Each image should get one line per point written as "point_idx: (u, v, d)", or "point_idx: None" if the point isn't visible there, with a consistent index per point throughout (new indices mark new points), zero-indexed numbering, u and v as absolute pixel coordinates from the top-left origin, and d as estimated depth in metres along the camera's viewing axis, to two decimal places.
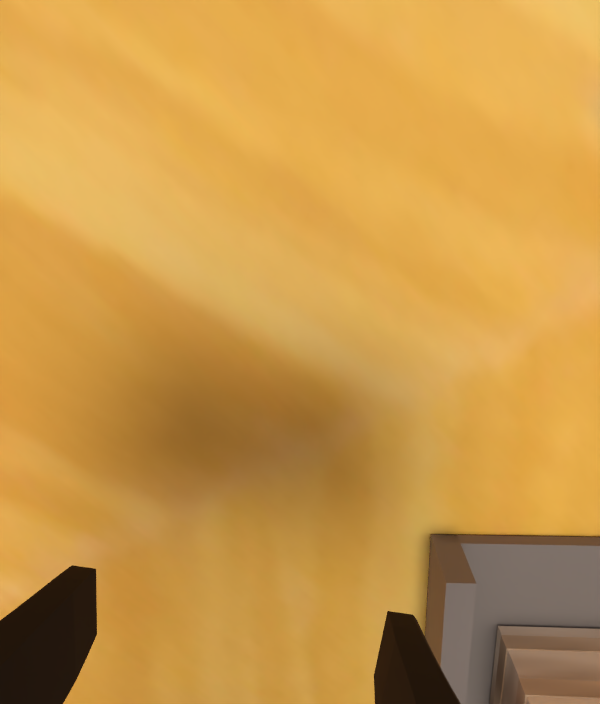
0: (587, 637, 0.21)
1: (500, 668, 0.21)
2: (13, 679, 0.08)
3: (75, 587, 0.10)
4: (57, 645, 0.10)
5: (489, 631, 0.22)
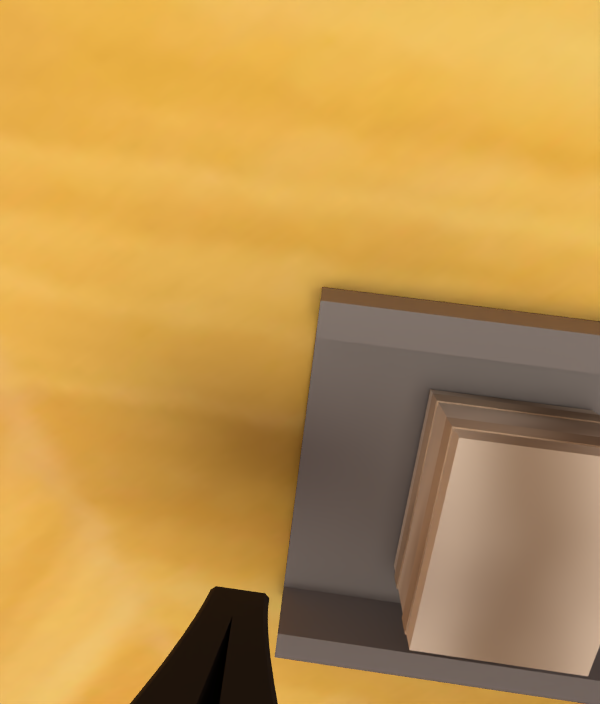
0: (411, 493, 0.18)
1: None
2: None
3: (232, 610, 0.10)
4: (221, 670, 0.10)
5: None
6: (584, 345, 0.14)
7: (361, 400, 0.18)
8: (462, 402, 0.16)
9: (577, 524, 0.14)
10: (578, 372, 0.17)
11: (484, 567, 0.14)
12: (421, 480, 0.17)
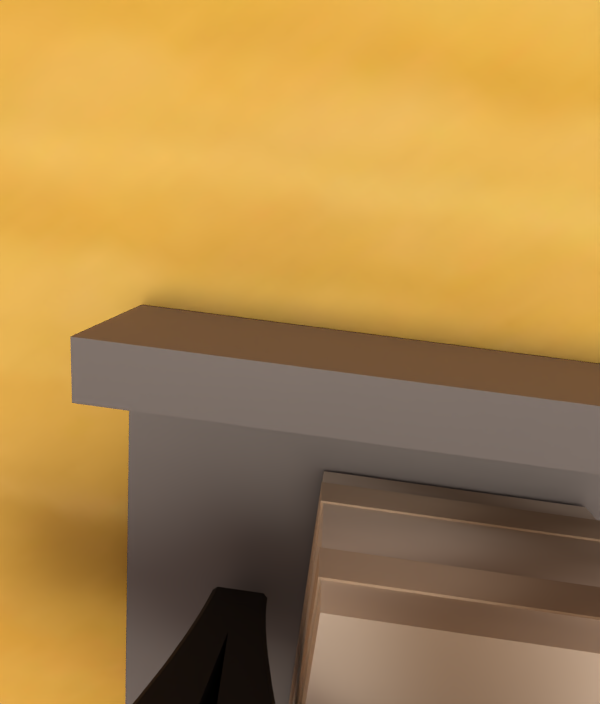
0: (300, 631, 0.11)
1: None
2: None
3: (233, 610, 0.10)
4: None
5: None
6: (559, 422, 0.08)
7: (211, 484, 0.11)
8: (366, 503, 0.10)
9: None
10: None
11: None
12: (304, 624, 0.10)
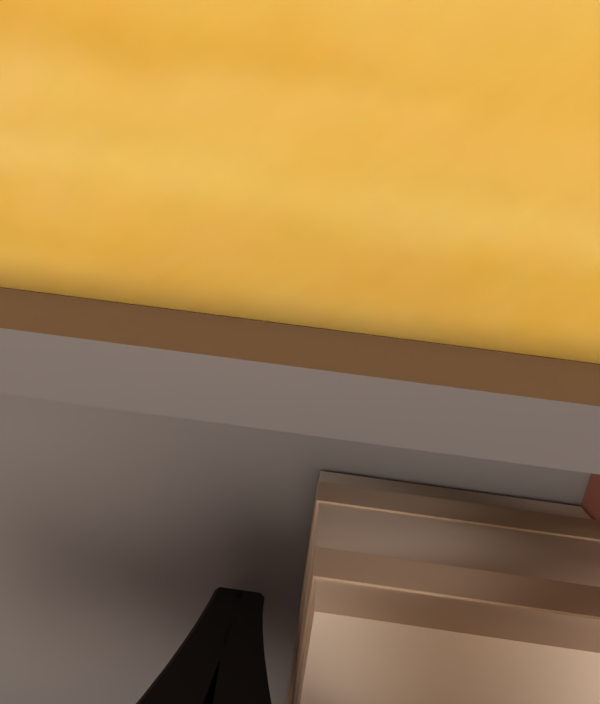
0: (297, 630, 0.11)
1: None
2: None
3: (236, 611, 0.10)
4: None
5: (27, 685, 0.13)
6: (90, 360, 0.08)
7: None
8: (362, 502, 0.10)
9: None
10: None
11: None
12: (300, 623, 0.10)
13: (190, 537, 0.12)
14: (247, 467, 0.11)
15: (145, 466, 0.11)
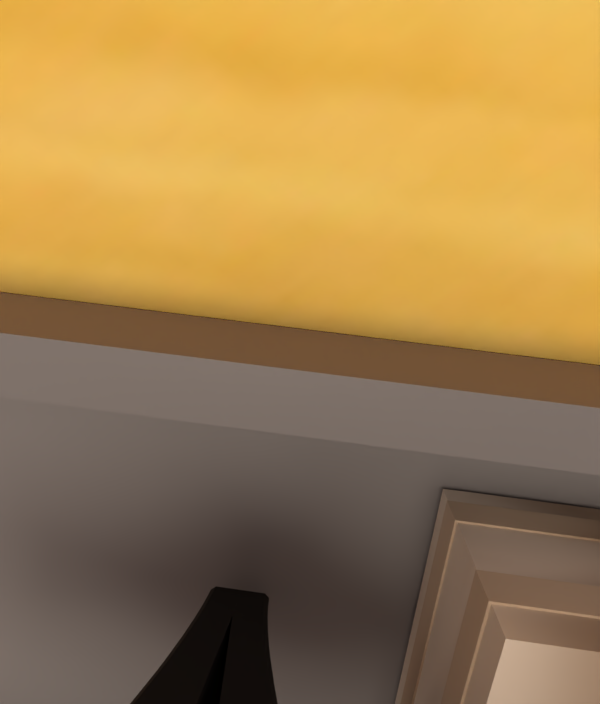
0: (413, 647, 0.11)
1: None
2: None
3: (232, 610, 0.10)
4: (221, 670, 0.10)
5: (127, 702, 0.13)
6: (256, 385, 0.08)
7: (12, 460, 0.11)
8: (499, 522, 0.10)
9: None
10: None
11: None
12: (429, 642, 0.10)
13: (304, 554, 0.12)
14: (367, 485, 0.11)
15: (263, 484, 0.11)
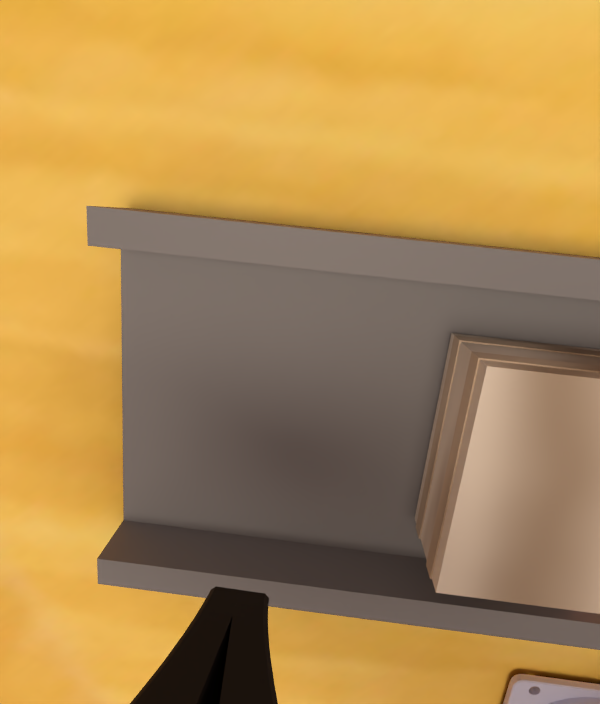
0: (433, 441, 0.18)
1: None
2: None
3: (232, 610, 0.10)
4: (221, 670, 0.10)
5: (237, 501, 0.20)
6: (348, 245, 0.14)
7: (173, 323, 0.18)
8: (486, 342, 0.16)
9: None
10: (380, 287, 0.17)
11: (512, 503, 0.14)
12: (444, 424, 0.16)
13: (361, 384, 0.18)
14: (403, 333, 0.17)
15: (336, 335, 0.17)
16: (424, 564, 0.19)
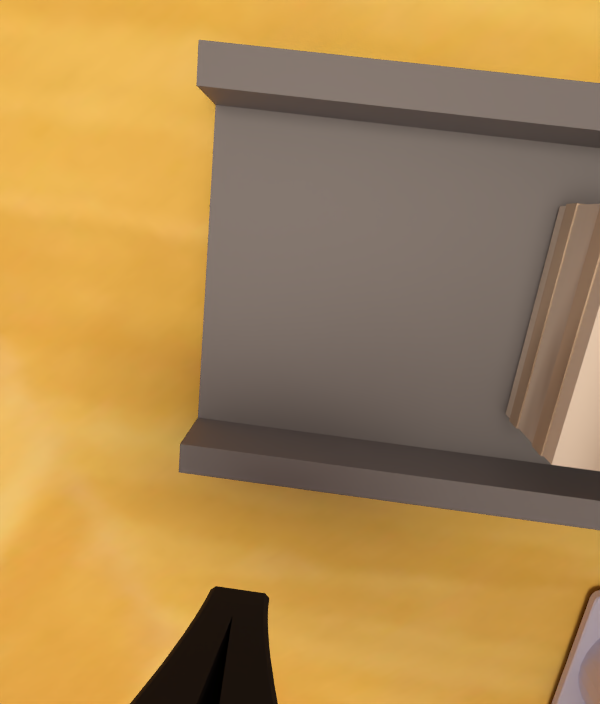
0: (534, 324, 0.17)
1: None
2: None
3: (232, 610, 0.10)
4: (221, 670, 0.10)
5: (319, 396, 0.19)
6: (476, 84, 0.13)
7: (265, 196, 0.17)
8: None
9: None
10: (487, 155, 0.16)
11: None
12: (554, 297, 0.16)
13: (459, 264, 0.17)
14: (508, 207, 0.16)
15: (437, 209, 0.17)
16: (513, 463, 0.19)
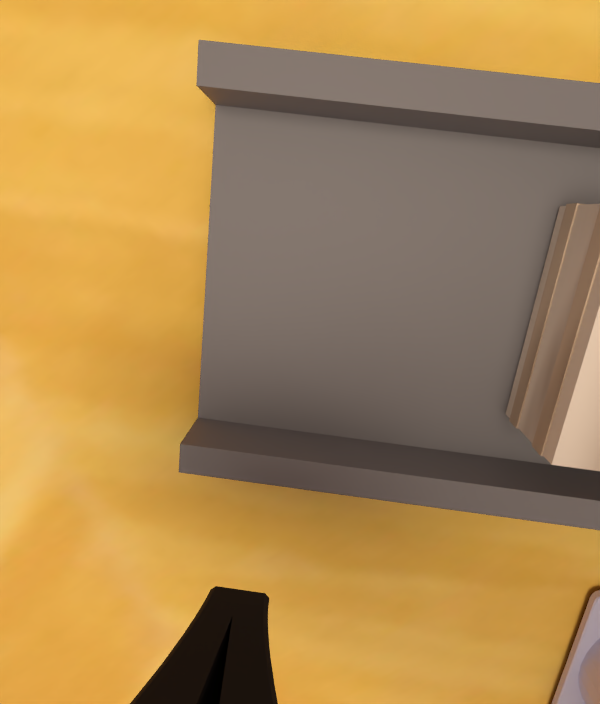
0: (534, 324, 0.17)
1: None
2: None
3: (232, 610, 0.10)
4: (221, 670, 0.10)
5: (319, 396, 0.19)
6: (476, 84, 0.13)
7: (265, 196, 0.17)
8: None
9: None
10: (487, 155, 0.16)
11: None
12: (554, 297, 0.16)
13: (459, 264, 0.17)
14: (508, 207, 0.16)
15: (437, 209, 0.17)
16: (513, 463, 0.19)
